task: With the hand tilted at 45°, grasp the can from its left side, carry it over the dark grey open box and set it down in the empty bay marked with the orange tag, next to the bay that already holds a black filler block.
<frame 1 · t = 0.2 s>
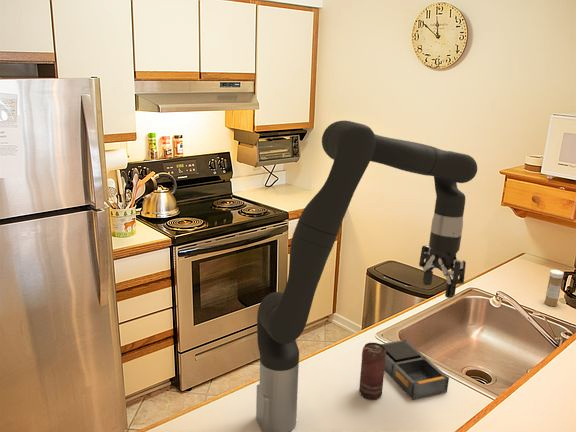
hand: (437, 290, 133), 29 cm above the worktop, tool pointing down, fingers open, 8 cm apart
dark grey open box: (408, 374, 146), on the worktop
can: (369, 394, 137), on the worktop
sprinkles bottle: (550, 304, 195), on the worktop
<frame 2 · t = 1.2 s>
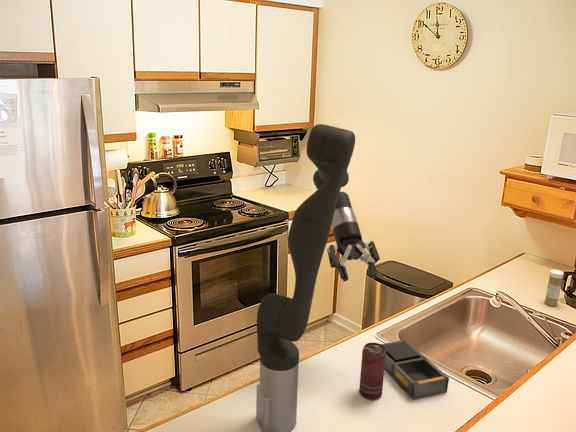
hand: (360, 278, 139), 29 cm above the worktop, tool tilted 45°, fingers open, 8 cm apart
nothing on the worktop moved.
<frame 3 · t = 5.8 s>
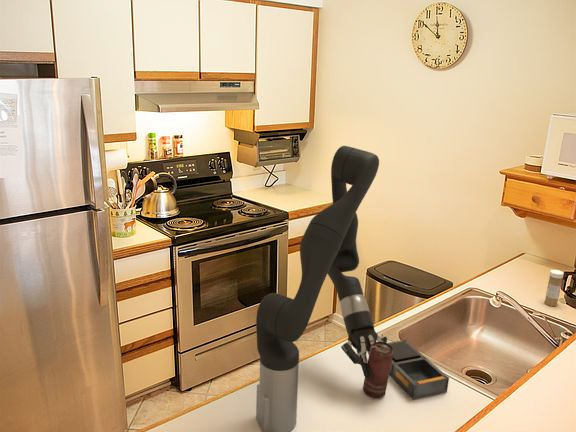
hand: (374, 377, 133), 7 cm above the worktop, tool tilted 45°, fingers closed
can: (373, 392, 137), on the worktop, touching gripper
everything else where it was.
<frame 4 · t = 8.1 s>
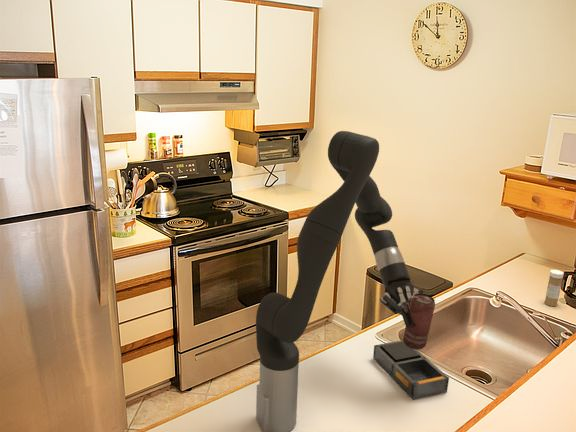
hand: (412, 327, 133), 19 cm above the worktop, tool tilted 45°, fingers closed
can: (413, 344, 138), point 13 cm above the worktop, touching gripper, hand
everything else where it was.
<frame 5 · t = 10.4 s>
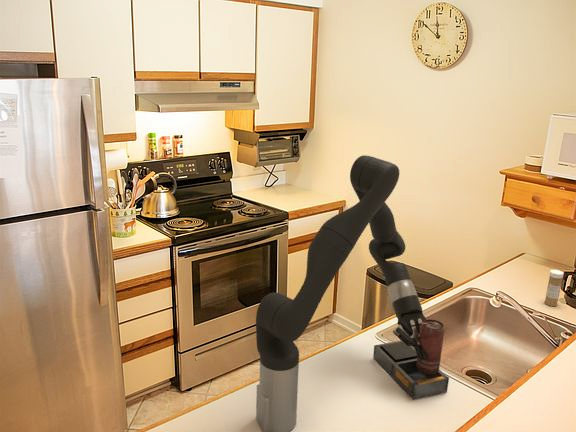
hand: (424, 359, 137), 9 cm above the worktop, tool tilted 45°, fingers closed
can: (426, 369, 141), point 4 cm above the worktop, touching gripper, dark grey open box
everything else where it was.
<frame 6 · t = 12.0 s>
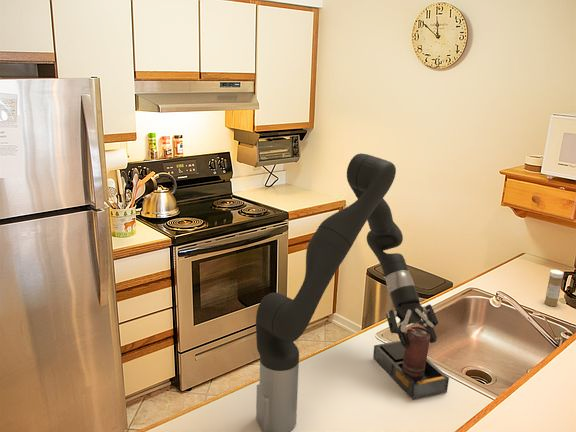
hand: (420, 344, 139), 12 cm above the worktop, tool tilted 45°, fingers open, 8 cm apart
can: (411, 376, 142), point 2 cm above the worktop
everything else where it was.
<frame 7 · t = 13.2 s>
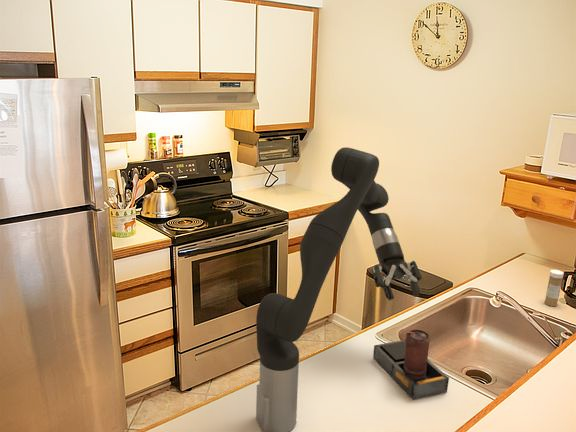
hand: (404, 297, 145), 22 cm above the worktop, tool tilted 45°, fingers open, 8 cm apart
can: (413, 379, 142), point 1 cm above the worktop, touching dark grey open box
everything else where it was.
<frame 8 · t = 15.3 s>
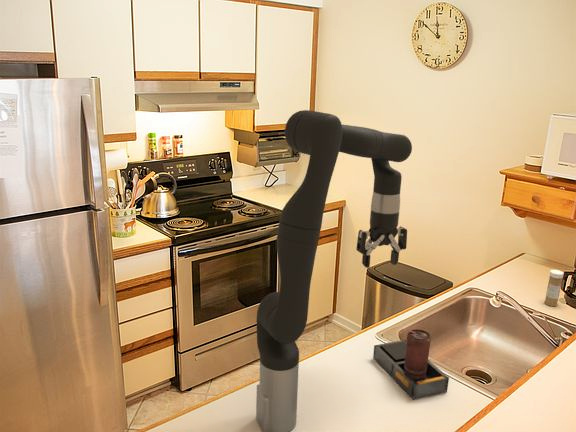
hand: (380, 265, 140), 32 cm above the worktop, tool pointing down, fingers open, 8 cm apart
nothing on the worktop moved.
at the end: can inside the target area on the dark grey open box (1.4 cm from its centre), point 0.9 cm above the dark grey open box's base; can tilted 1°; the gripper is holding nothing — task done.
